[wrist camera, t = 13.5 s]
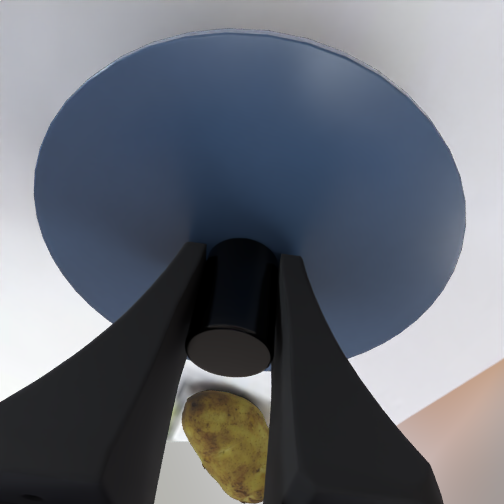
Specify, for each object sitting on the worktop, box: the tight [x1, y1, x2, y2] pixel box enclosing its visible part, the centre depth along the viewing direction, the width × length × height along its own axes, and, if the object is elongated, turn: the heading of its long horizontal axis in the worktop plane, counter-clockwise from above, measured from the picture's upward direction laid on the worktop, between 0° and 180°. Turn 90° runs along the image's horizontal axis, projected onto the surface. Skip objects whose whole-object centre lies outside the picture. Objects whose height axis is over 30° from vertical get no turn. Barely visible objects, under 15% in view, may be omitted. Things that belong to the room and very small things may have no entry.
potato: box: [182, 390, 269, 504], centre depth 38 cm, size 8×13×8 cm, turn 21°
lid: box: [34, 28, 466, 377], centre depth 11 cm, size 14×14×5 cm
